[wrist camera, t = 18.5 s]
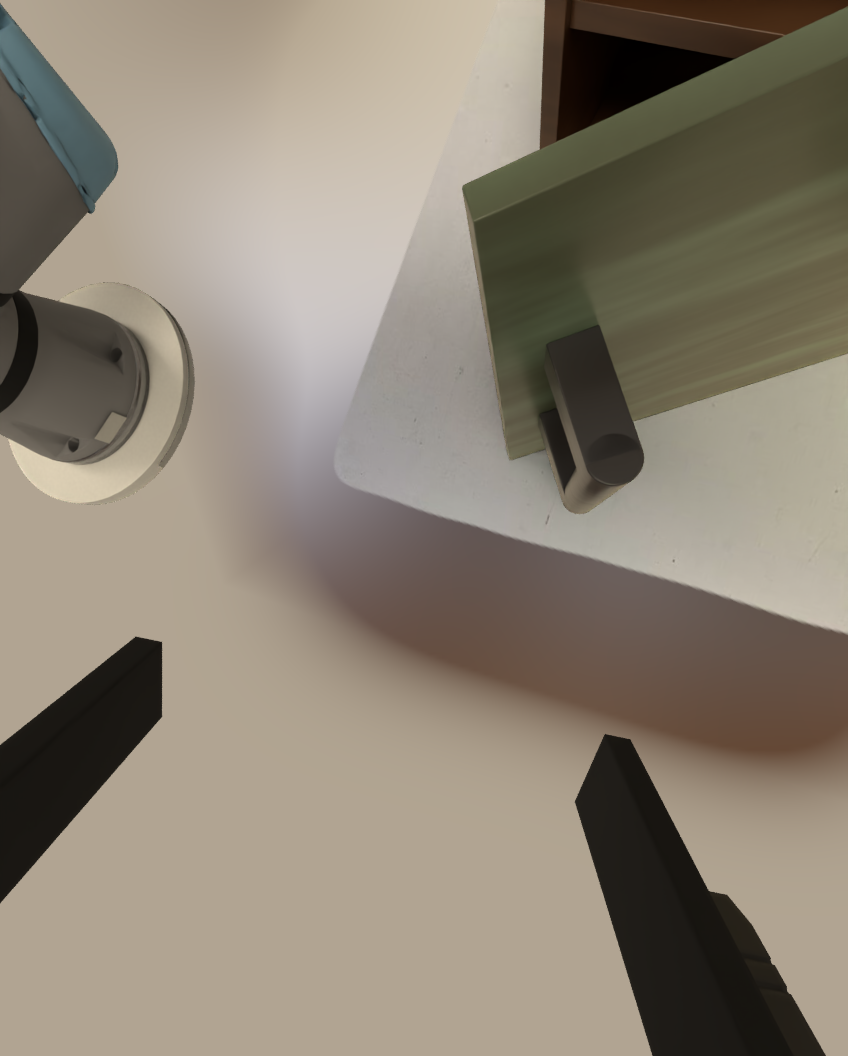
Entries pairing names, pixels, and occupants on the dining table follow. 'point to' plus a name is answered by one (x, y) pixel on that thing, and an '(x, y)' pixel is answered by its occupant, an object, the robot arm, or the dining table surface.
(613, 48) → the cupboard
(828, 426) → the dining table surface
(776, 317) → the cupboard door
